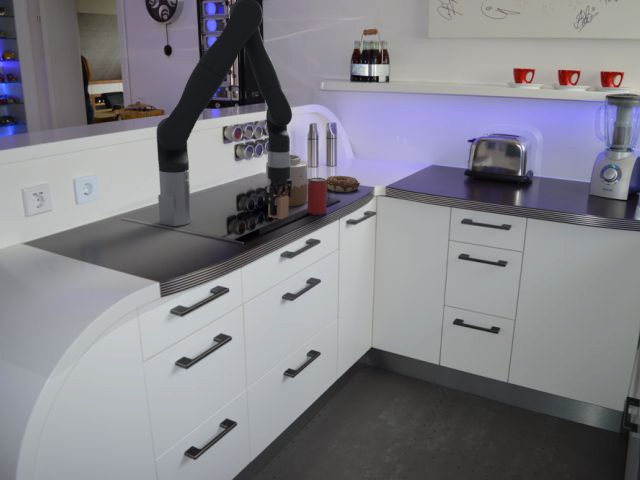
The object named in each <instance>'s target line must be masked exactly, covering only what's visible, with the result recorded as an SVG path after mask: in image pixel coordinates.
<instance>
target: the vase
mask: <svg viewBox="0 0 640 480" xmlns="http://www.w3.org/2000/svg"><path fill="white" fill-rule="evenodd" d="M265 164H266V165H265V187H266V186H267V187H269V186H270V183H271V180H270V179H269V178H268V161H266V163H265ZM308 174H309V165H308V162H307V161H304V160H302V159H301V156H300V155H297V154H296V155H295V154H290V178H289V179H288V180H292V190H291V197H289V207H297V206H302V205H305V204H306V203H308V178H309V177H308ZM273 195H274V194H273Z"/></svg>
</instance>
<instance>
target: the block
mask: <svg viewBox="0 0 640 480" xmlns="http://www.w3.org/2000/svg"><path fill="white" fill-rule="evenodd" d="M275 196H276V195H275ZM269 199H270V198H269ZM274 200H275V198H274ZM267 205H268V206H267V210H268V212H267V215H268V216H267V217H268V218H271V217H272V218H271V219H276V218H278V220H283V219H285V218H287V217H289V211H290V210H289V209H290V208H289V207H290V206H289V196H285V195H280V198H279V199H278V200H277V204H276V205H277V215H276V216H272V215H270V204H267Z"/></svg>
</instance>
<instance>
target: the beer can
mask: <svg viewBox="0 0 640 480" xmlns="http://www.w3.org/2000/svg"><path fill="white" fill-rule="evenodd" d="M326 179H327V178H323V177H311V178H310V179H309V182H308V183H307V212H308V214H310V215H313V216H322V215H324V214H326V213H327V201H328V199H327V198H328V188H327V183H326Z"/></svg>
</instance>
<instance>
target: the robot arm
mask: <svg viewBox="0 0 640 480" xmlns="http://www.w3.org/2000/svg"><path fill="white" fill-rule="evenodd" d="M228 16H229V17H228V20H227V22H226V24H225V26H224V28H223V30H222V32H221V33H220V34H219V36H218V38H217V39H215V41H214V42H213V43H212V44H211V45H209V47H208V49H207V50H206V51H205V52H204V54H202V56H201V58H199V60H198V62H197V63H196V65H195V67H194V68H193V70H192V72H191V74H190V75H189V77H188V80H187V82H186V84H185V86H184V89H183V91H182V94H181V97H180V99H179V101H178V103H177V104H176V106H175V107H174V109H173V110H172V111H171V113H170V114H169V116H168V117H165V118H163V119H161V121H159V123H158V125H157V126H156V149H157V161H158V164H157V165H158V171H159V172H158V174H159V176H158V177H159V191H160V192H159V194H158V196H157V199H158V213H159V214H158V217H159V224H160V225H165V226H170V227H174V226H175V227H178V226H186V225H188V224H190V223H191V222H192V217H191V215H192V212H191V211H192V210H191V190H190V185H191V184H190V165H189V164H190V162H189V152H188V140H189V138H190V136H191V134H192V132H193V129H194V127H195V126H196V123H197V121H198V119H199V118H200V116H201V115H202V113H203V112H204V111H205V109H206V108H207V106H208V105H210V102H211V101H212V100H213V98H214V97H215V95H216V94H217V92H218V91H219V89H220V88H221V86H222V85H223V83H224V81H225V80H226V78H227V77H228V74H229V73H230V71H231V69H232V67H233V65H234V64H235V62H236V60H237V58H238V56H239V54H240V52H241V51H242V49H243V47H244V51H245V53H246V55H247V58H248V60H249V63H250V67H251V70H252V73H253V77H254V78H255V82H256V85H257V87H258V90H259V93H260V96H261V97H262V99H263V100H264V101H265V103H266V105H267V106H266V107H267V109H266V117H265V118H266V127H267V129H266V130H267V134H268V135H267V136H268V140H267V141H268V144H267V145H268V146H267V147H268V148H267V151H268V153H267V162H268V178H269V179H270V180H271V183H270V186H269V187H267V186H266V185H265V187H264V195H265V196H264V198H265V204H267V205H268V204H270V215H272V216H276V215H277V205H276V204H277V200H278V199H279V198H280V195H285V196H289V197H291V190H292V180H288V179H289V178H290V155H291V153H290V150H291V147H290V144H291V143H290V142H291V141H290V135H289V133H288V125H289V124H290V123H291V121H292V119H293V112H292V108H291V106H290V103H289V101H288V99H287V96H286V94H285V92H284V91H283V88H282V84H281V82H280V81H281V80H280V78H279V75H278V71H277V69H276V67H275V64H274V62H273V60H272V58H271V57H270V54H269V52H268V50H267V49H266V46H265V44H264V41H263V37H262V35H261V30H260V25H261V24H262V21H263V16H264V15H263V9H262V7H261V4H260V3H259V2H258V1H256V0H236V1H234V2H233V3H232V4H231V6H230V8H229V11H228ZM273 194H274V195H273ZM275 195H276V196H275ZM269 198H270V199H269ZM274 198H275V200H274Z"/></svg>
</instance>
